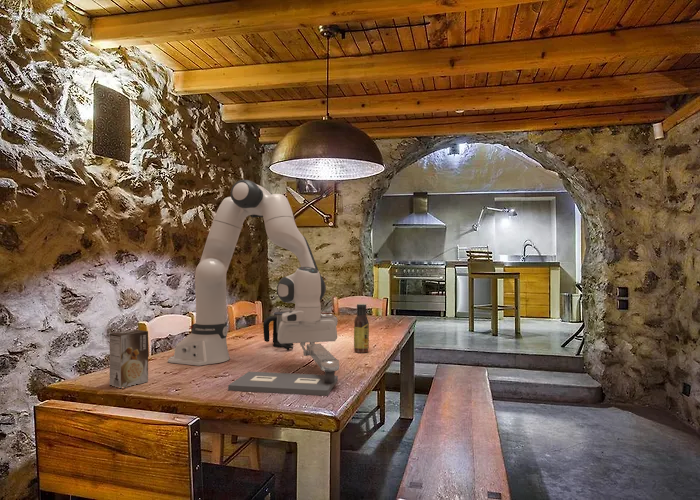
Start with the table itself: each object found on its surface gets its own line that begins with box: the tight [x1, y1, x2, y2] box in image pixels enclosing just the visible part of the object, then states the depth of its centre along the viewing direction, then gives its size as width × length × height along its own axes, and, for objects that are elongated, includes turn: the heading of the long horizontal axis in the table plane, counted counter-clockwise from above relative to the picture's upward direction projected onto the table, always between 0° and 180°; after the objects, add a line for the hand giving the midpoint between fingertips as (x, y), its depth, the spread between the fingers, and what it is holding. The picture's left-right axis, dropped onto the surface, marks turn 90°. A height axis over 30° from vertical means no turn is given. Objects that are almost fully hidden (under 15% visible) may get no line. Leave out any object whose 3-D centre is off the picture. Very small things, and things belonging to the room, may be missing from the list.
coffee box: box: [109, 329, 149, 388], centre depth 136 cm, size 9×6×16 cm
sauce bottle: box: [353, 303, 370, 354], centre depth 185 cm, size 7×6×20 cm
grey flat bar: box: [306, 343, 340, 372], centre depth 145 cm, size 30×6×2 cm, turn 15°
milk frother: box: [262, 311, 294, 351], centre depth 193 cm, size 14×16×15 cm
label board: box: [227, 371, 339, 397], centre depth 136 cm, size 30×16×5 cm, turn 81°
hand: (307, 355), depth 150 cm, fingers closed
